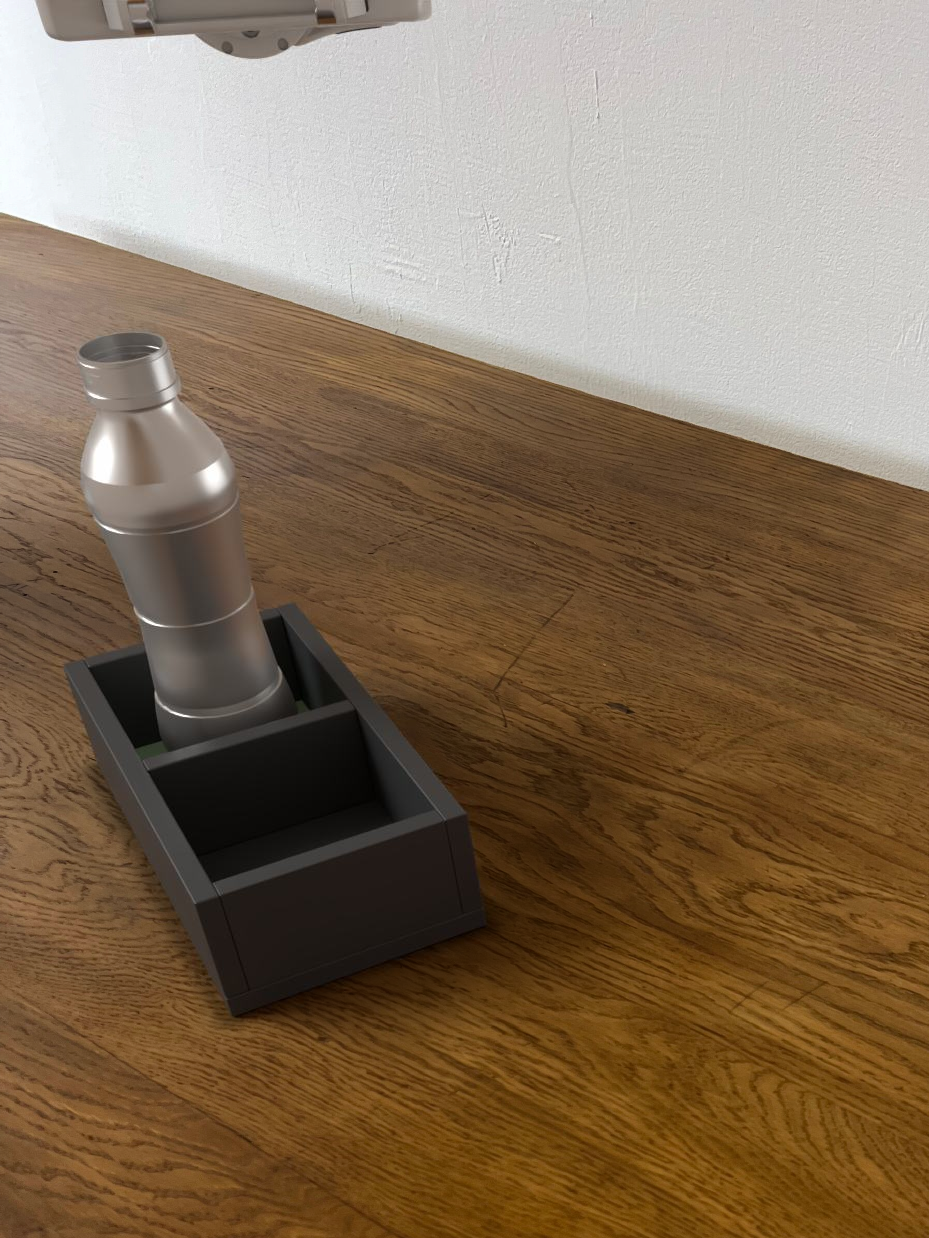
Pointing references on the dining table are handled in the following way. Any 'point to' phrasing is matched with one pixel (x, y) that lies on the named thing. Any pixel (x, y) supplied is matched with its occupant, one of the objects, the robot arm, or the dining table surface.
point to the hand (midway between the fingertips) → (232, 11)
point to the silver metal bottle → (177, 543)
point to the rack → (286, 823)
